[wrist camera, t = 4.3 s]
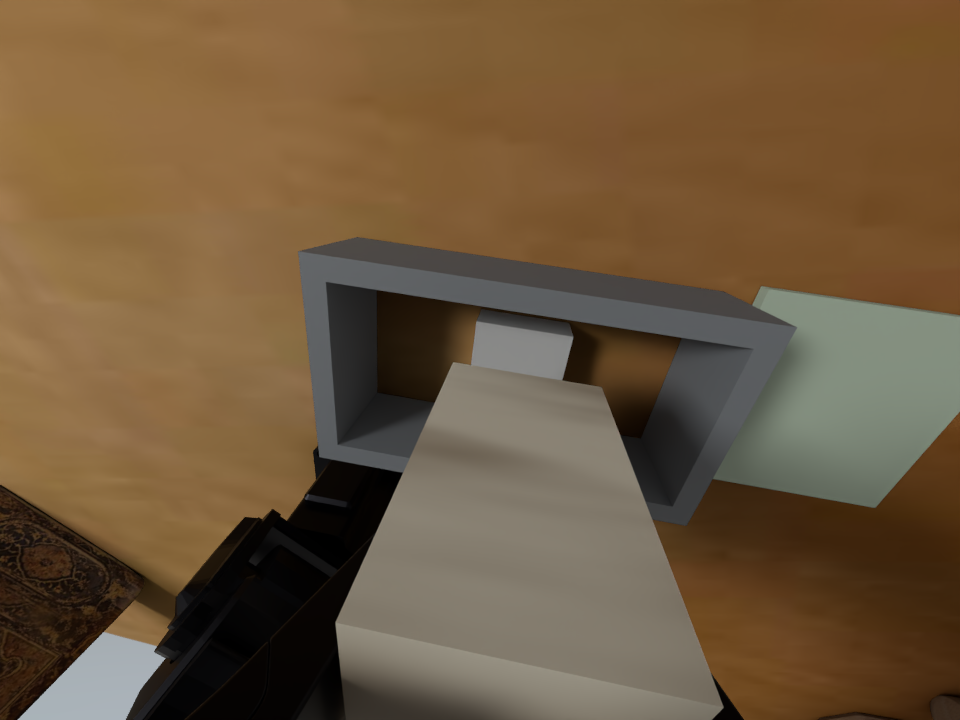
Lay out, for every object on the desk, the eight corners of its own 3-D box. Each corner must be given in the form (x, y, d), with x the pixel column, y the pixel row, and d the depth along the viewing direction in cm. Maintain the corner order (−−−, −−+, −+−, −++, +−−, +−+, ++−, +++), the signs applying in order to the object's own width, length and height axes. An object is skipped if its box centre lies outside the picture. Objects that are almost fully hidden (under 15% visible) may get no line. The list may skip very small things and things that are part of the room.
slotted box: (652, 454, 21) (686, 525, 16) (362, 403, 22) (319, 457, 17) (723, 291, 16) (797, 327, 12) (356, 237, 17) (298, 251, 13)
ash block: (566, 496, 14) (608, 828, 6) (442, 472, 14) (350, 766, 7) (601, 386, 11) (723, 707, 4) (453, 362, 12) (335, 622, 5)
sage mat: (865, 499, 20) (875, 507, 20) (674, 465, 21) (678, 472, 20) (1015, 323, 16) (1032, 327, 15) (761, 286, 16) (769, 289, 16)
